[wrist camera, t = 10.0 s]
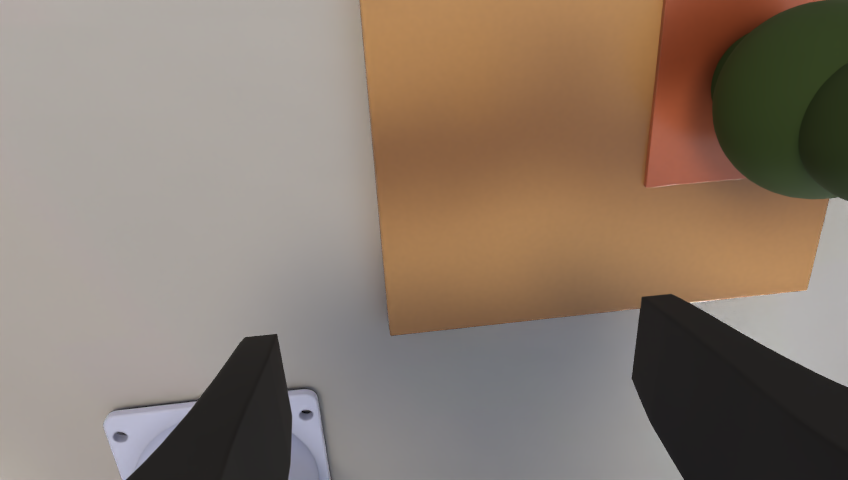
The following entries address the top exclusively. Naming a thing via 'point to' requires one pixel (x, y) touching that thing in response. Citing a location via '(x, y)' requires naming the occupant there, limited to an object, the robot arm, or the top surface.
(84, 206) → the top surface
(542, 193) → the board
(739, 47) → the avocado
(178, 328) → the top surface
